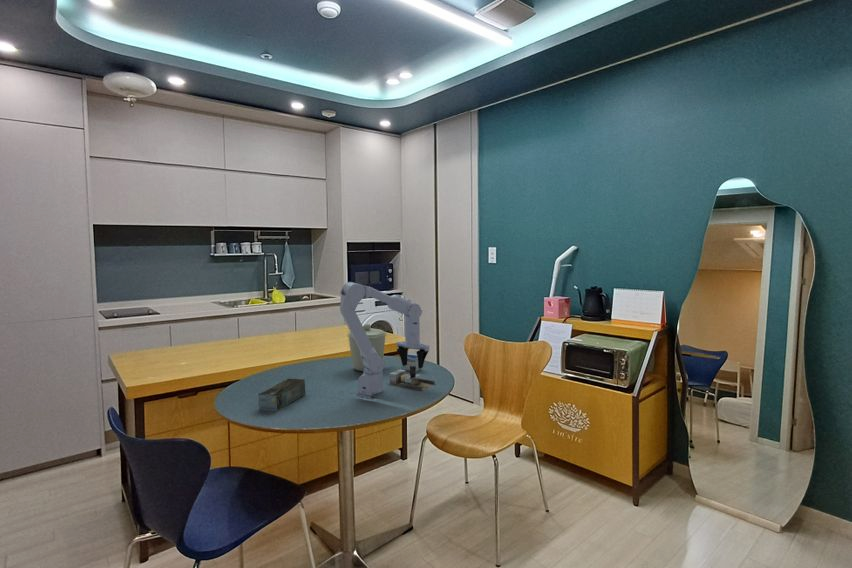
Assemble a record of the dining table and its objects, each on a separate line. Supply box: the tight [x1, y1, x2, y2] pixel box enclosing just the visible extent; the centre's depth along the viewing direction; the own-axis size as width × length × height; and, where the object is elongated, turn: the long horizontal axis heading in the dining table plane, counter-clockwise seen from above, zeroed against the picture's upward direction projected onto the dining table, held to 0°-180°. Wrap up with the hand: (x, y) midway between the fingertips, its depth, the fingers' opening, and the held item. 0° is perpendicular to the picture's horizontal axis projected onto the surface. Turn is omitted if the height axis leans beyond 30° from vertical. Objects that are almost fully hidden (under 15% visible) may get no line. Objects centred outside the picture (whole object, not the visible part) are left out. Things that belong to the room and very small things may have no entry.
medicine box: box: [401, 352, 422, 373], centre depth 202 cm, size 8×4×9 cm, turn 62°
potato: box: [401, 373, 410, 384], centre depth 182 cm, size 4×4×3 cm
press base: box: [385, 368, 436, 392], centre depth 181 cm, size 10×18×6 cm, turn 58°
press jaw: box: [405, 366, 422, 385], centre depth 180 cm, size 7×3×7 cm, turn 148°
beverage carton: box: [257, 378, 306, 412], centre depth 166 cm, size 8×19×7 cm, turn 164°
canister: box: [346, 323, 388, 372], centre depth 209 cm, size 18×18×21 cm
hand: (412, 366), depth 180 cm, fingers open, 7 cm apart
